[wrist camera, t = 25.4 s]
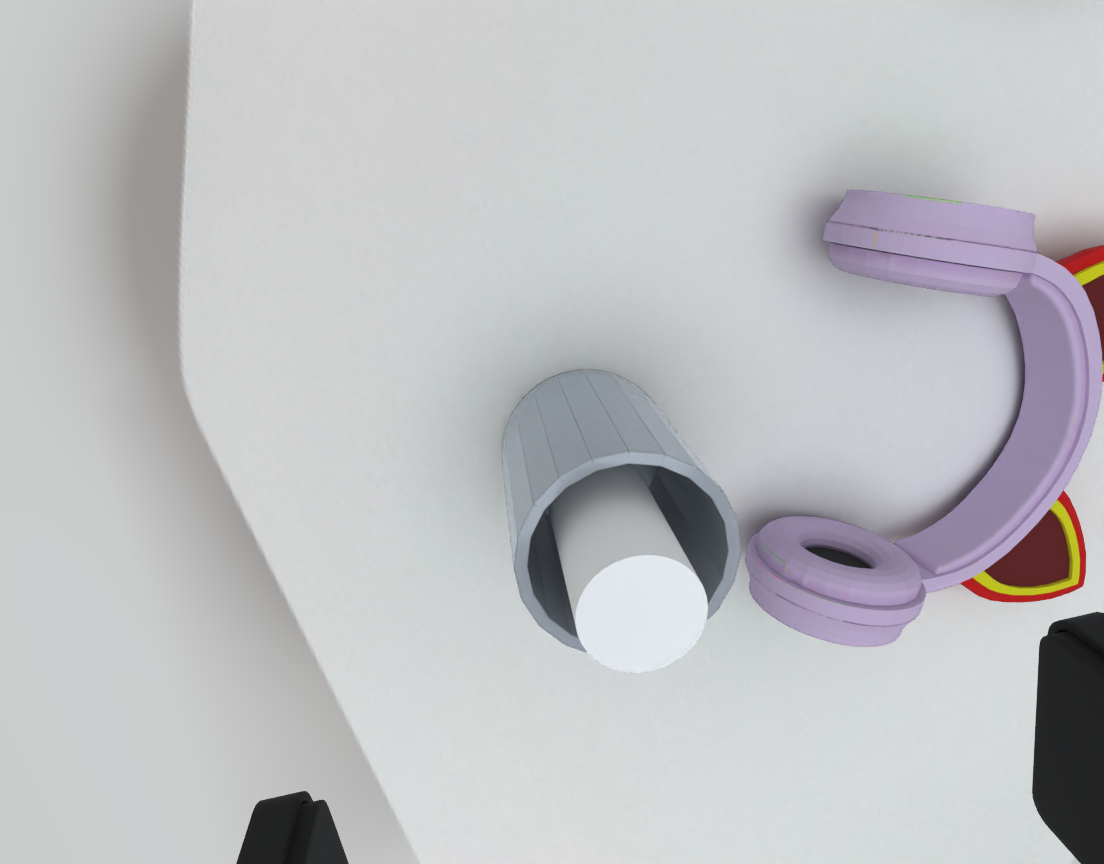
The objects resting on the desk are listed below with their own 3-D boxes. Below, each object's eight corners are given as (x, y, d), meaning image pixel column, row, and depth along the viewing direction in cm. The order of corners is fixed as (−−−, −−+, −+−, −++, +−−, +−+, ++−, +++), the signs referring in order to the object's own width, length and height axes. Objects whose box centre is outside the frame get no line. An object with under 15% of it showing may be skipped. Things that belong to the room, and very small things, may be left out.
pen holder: (520, 538, 41) (539, 678, 30) (486, 389, 38) (492, 480, 27) (674, 504, 41) (751, 630, 30) (651, 353, 38) (726, 429, 27)
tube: (635, 469, 39) (727, 637, 25) (559, 506, 40) (608, 693, 25) (600, 397, 38) (677, 532, 24) (521, 436, 38) (552, 592, 24)
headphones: (877, 187, 29) (1392, 265, 29) (802, 187, 38) (1194, 246, 39) (760, 639, 35) (1189, 698, 35) (720, 543, 44) (1060, 591, 45)
